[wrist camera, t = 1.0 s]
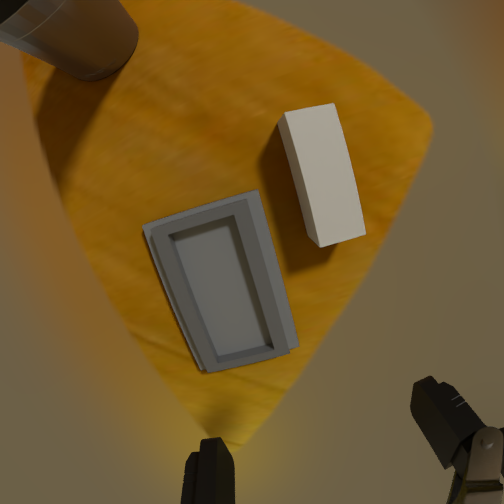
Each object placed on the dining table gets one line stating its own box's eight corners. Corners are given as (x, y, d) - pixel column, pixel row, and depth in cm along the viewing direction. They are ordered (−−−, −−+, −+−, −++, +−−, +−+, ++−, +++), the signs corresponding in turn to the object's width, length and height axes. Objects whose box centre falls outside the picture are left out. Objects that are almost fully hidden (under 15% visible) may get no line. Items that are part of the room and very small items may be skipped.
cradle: (201, 365, 33) (199, 377, 31) (145, 224, 29) (137, 228, 26) (298, 341, 33) (301, 353, 30) (257, 189, 28) (258, 190, 26)
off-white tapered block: (307, 235, 30) (320, 247, 25) (277, 122, 27) (284, 112, 22) (347, 224, 30) (365, 234, 25) (318, 114, 27) (333, 103, 22)
